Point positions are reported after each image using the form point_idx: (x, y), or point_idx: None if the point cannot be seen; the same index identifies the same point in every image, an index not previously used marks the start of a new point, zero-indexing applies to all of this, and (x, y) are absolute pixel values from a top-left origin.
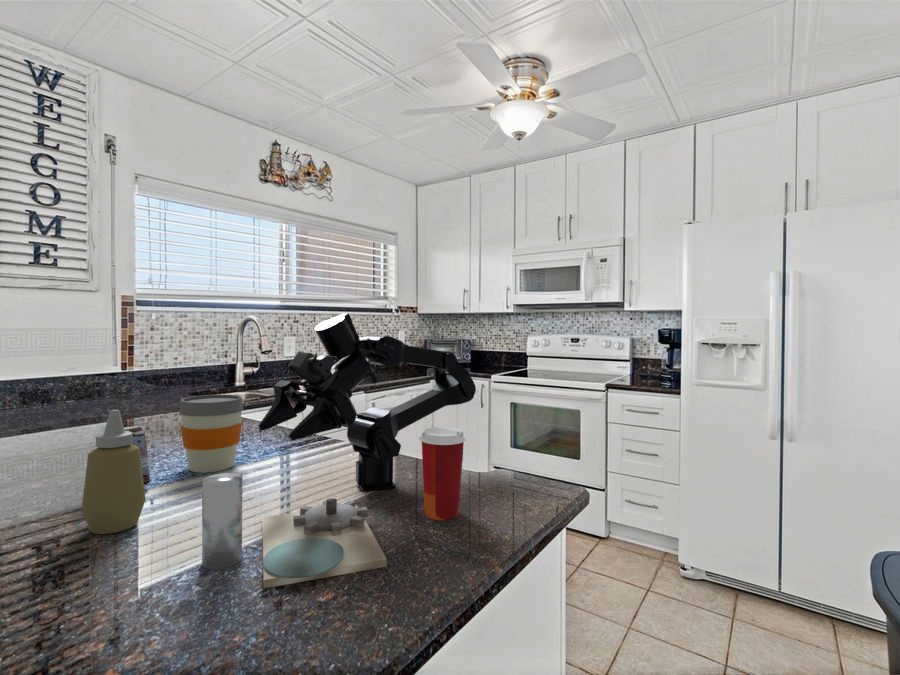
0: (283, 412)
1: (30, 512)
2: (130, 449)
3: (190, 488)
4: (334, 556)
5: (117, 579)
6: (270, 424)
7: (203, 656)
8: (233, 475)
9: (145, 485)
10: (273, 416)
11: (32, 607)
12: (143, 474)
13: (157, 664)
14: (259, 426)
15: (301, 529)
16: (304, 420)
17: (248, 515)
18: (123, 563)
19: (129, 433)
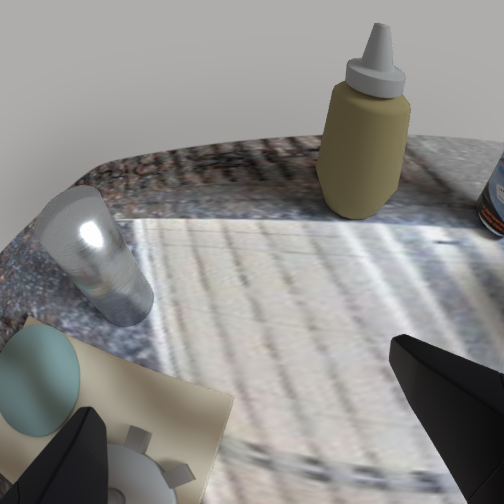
0: (489, 473)
1: (433, 146)
2: (356, 101)
3: (495, 297)
4: (4, 404)
5: (173, 203)
6: (417, 400)
7: (6, 254)
8: (66, 231)
9: (498, 233)
10: (449, 409)
11: (171, 158)
12: (499, 215)
13: (24, 230)
14: (393, 338)
15: (118, 432)
16: (35, 479)
17: (299, 384)
18: (213, 206)
19: (374, 75)
